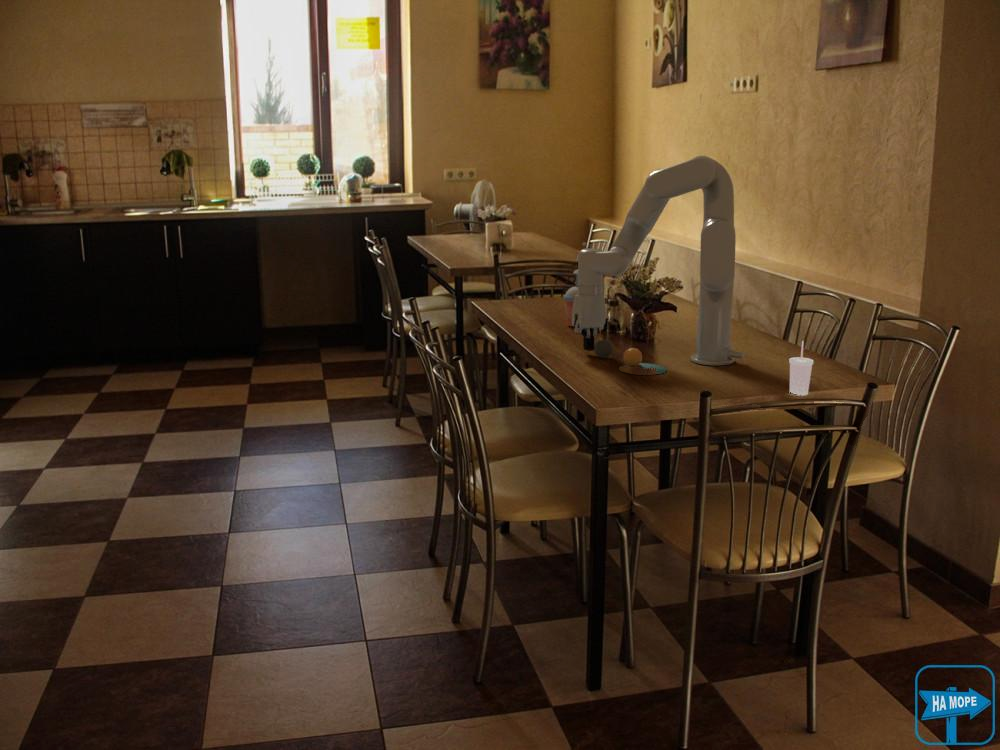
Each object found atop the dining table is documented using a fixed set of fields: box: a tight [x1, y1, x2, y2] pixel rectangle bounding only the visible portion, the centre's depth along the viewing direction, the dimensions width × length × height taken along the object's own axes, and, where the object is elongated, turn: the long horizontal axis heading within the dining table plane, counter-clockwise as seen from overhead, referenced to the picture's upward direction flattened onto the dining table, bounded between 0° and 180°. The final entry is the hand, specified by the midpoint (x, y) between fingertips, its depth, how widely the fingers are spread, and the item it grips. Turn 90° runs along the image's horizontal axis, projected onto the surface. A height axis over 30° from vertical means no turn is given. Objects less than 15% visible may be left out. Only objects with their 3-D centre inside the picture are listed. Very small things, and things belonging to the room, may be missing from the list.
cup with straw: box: [563, 274, 578, 327], centre depth 336 cm, size 9×9×18 cm
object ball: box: [622, 347, 643, 367], centre depth 282 cm, size 6×6×6 cm
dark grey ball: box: [593, 339, 613, 359], centre depth 292 cm, size 6×6×6 cm
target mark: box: [639, 362, 668, 375], centre depth 279 cm, size 14×14×1 cm
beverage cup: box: [788, 340, 814, 397], centre depth 254 cm, size 6×6×14 cm
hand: (588, 349), depth 297 cm, fingers closed
